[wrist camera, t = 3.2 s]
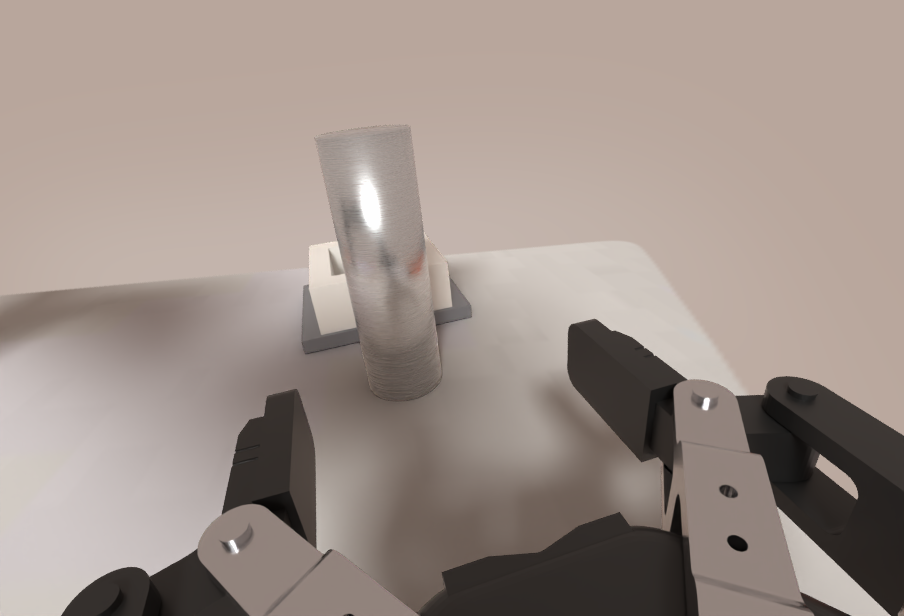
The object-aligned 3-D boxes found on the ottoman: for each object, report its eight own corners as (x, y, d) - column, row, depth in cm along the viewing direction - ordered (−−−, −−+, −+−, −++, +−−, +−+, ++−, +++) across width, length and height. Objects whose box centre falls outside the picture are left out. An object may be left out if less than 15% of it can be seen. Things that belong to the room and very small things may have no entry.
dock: (305, 353, 31) (288, 294, 29) (306, 296, 39) (293, 247, 37) (471, 316, 33) (466, 260, 31) (438, 270, 42) (432, 223, 40)
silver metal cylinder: (374, 408, 25) (314, 142, 18) (365, 366, 29) (314, 133, 22) (450, 389, 26) (419, 128, 19) (432, 351, 30) (401, 122, 23)
